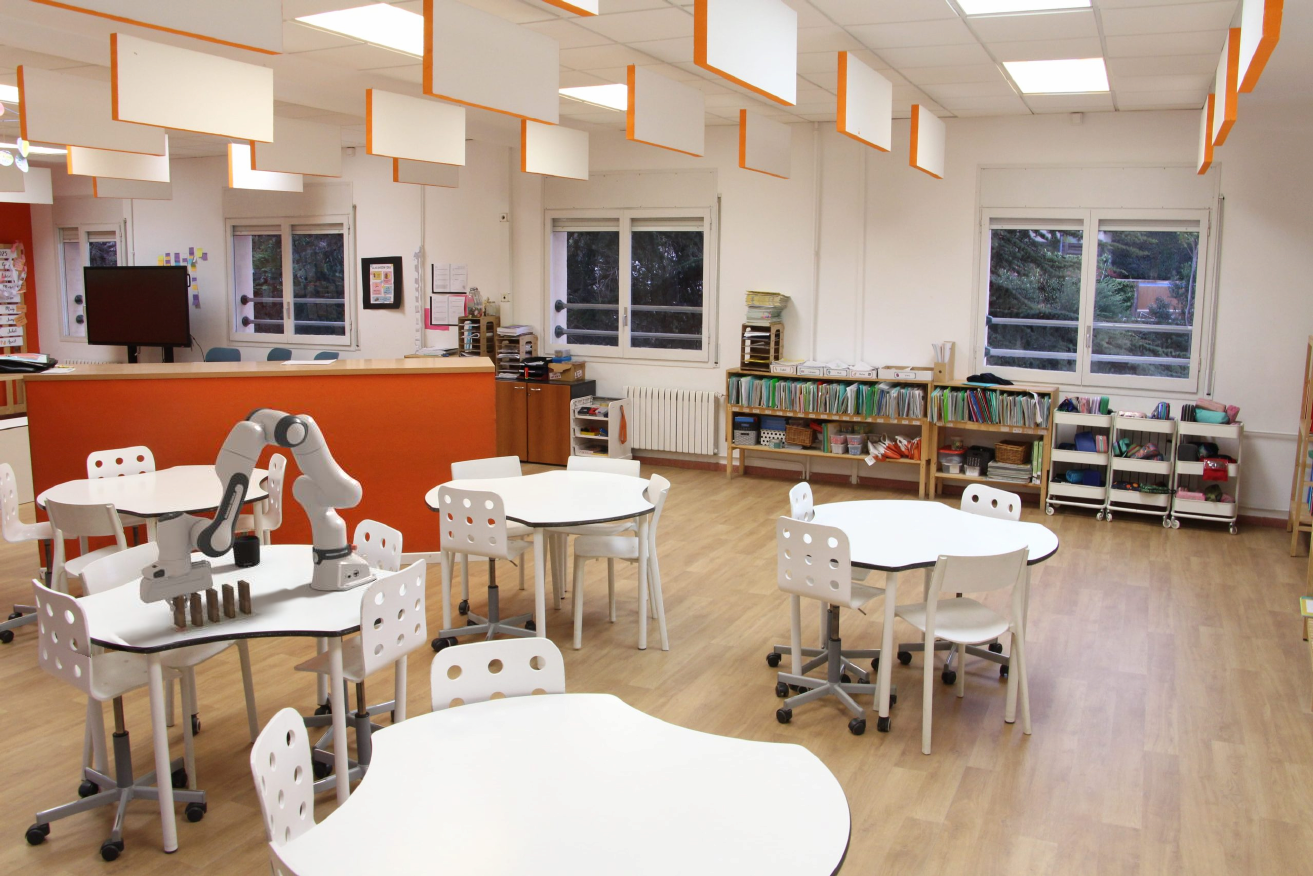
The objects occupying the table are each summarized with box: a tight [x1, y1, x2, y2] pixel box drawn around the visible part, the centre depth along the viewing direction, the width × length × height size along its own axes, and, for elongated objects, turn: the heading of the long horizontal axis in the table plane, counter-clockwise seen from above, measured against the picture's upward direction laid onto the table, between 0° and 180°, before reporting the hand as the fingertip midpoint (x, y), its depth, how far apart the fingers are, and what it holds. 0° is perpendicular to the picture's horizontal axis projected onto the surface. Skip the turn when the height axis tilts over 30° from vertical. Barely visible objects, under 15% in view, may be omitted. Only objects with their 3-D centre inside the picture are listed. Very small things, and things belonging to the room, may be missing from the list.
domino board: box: [169, 608, 260, 635], centre depth 302 cm, size 24×9×1 cm, turn 137°
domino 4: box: [236, 579, 252, 615], centre depth 307 cm, size 2×5×10 cm, turn 47°
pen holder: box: [232, 534, 261, 568], centre depth 360 cm, size 9×9×10 cm
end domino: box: [171, 595, 187, 628], centre depth 293 cm, size 2×5×10 cm, turn 47°
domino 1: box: [188, 592, 204, 627], centre depth 297 cm, size 2×5×10 cm, turn 47°
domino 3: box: [221, 583, 236, 619], centre depth 304 cm, size 2×5×10 cm, turn 47°
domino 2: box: [204, 588, 220, 623], centre depth 300 cm, size 2×5×10 cm, turn 47°
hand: (179, 609), depth 293 cm, fingers closed on end domino, 2 cm apart
